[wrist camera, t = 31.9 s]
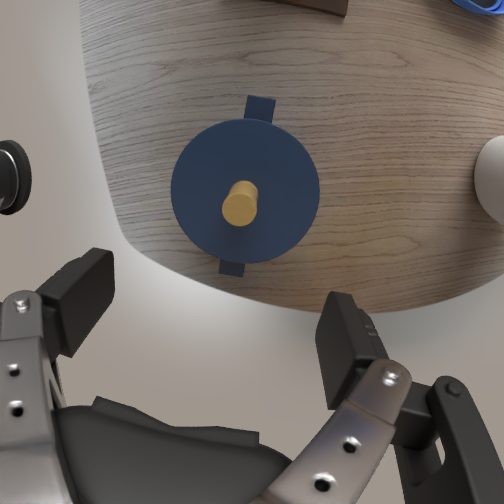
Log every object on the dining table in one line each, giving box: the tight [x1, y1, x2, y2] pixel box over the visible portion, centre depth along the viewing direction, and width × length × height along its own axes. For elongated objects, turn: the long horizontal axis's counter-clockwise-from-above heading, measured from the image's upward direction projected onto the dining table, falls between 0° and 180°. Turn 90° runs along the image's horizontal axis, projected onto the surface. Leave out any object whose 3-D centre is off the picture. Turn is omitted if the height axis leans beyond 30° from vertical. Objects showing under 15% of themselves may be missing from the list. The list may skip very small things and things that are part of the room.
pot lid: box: [171, 119, 320, 263], centre depth 24 cm, size 13×13×6 cm
